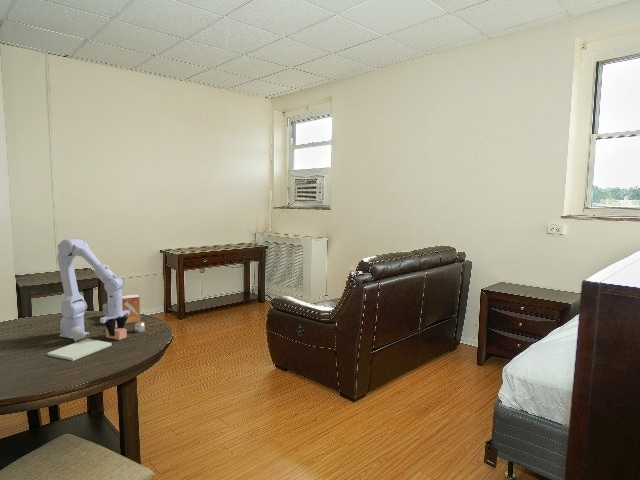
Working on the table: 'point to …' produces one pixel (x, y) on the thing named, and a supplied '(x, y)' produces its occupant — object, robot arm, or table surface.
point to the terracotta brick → (117, 333)
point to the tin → (105, 309)
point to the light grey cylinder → (140, 327)
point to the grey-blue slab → (77, 333)
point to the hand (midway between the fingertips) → (116, 334)
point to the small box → (131, 307)
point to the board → (79, 349)
